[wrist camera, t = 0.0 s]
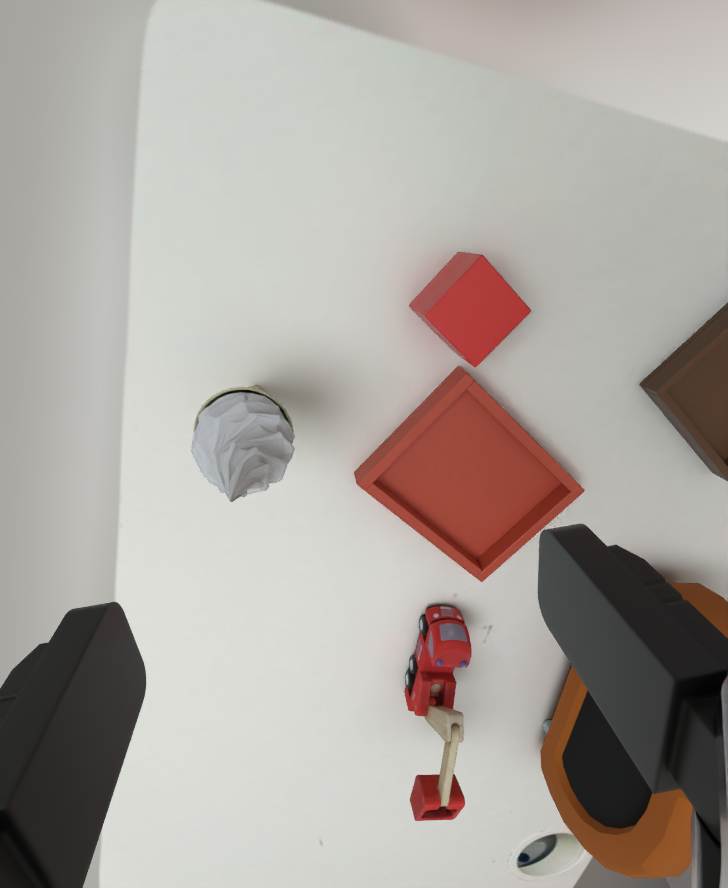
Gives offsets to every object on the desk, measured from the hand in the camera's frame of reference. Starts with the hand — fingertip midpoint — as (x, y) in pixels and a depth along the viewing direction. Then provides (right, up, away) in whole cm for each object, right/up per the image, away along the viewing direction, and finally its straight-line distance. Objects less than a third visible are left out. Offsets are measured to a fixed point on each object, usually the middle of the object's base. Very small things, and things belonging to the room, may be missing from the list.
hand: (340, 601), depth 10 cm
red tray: (+8, +1, +28) cm, 29 cm away
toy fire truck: (+6, -16, +35) cm, 40 cm away
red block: (+6, +12, +23) cm, 27 cm away
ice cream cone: (-7, +7, +24) cm, 26 cm away
